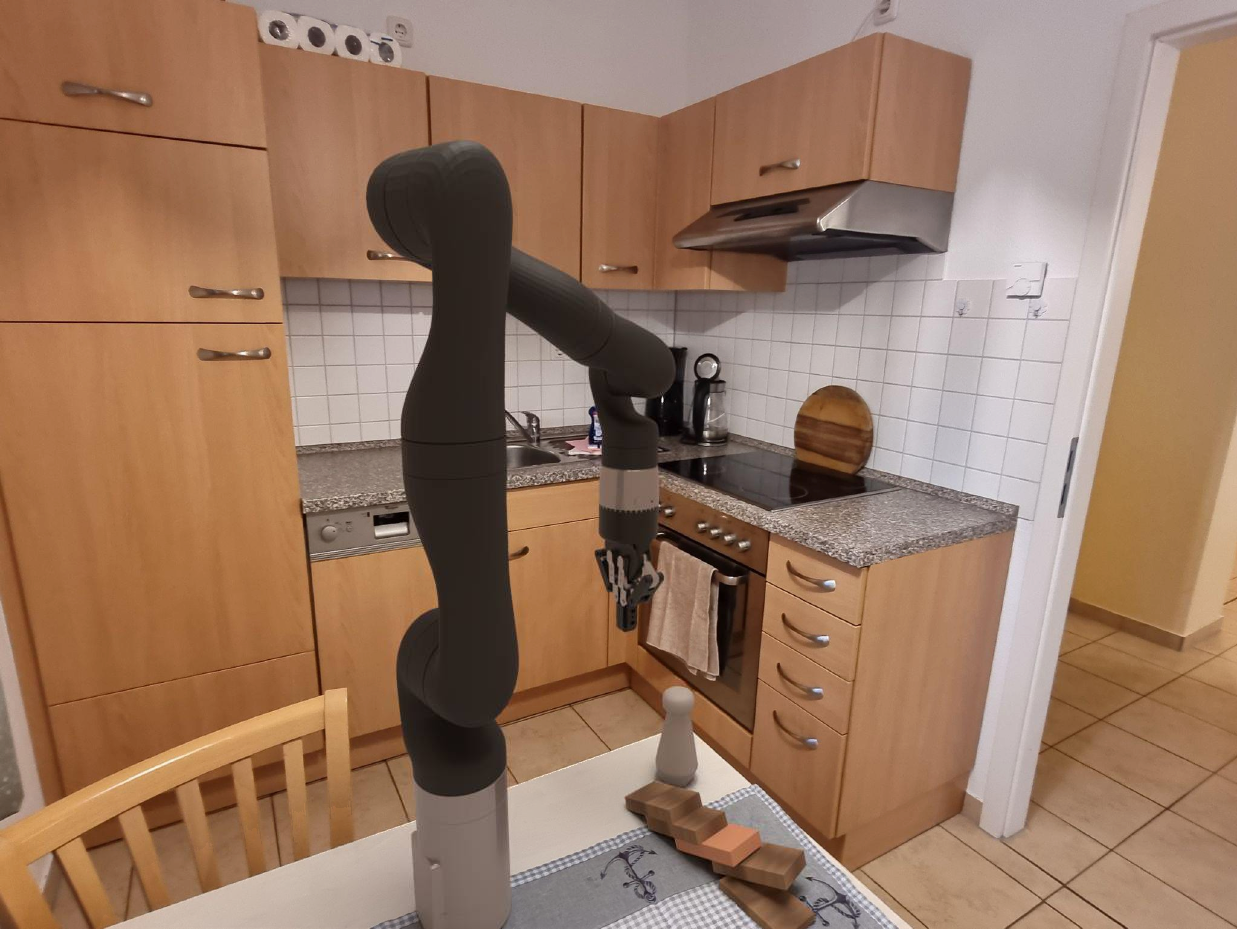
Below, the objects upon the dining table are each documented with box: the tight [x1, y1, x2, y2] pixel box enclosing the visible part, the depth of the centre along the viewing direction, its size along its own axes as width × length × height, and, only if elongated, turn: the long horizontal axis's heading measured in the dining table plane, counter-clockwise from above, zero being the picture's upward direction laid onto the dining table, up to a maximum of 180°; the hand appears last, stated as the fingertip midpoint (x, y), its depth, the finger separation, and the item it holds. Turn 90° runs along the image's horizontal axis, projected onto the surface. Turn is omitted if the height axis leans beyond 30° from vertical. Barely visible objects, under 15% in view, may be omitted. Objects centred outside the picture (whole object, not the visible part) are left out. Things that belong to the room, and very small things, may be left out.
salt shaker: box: [655, 685, 699, 788], centre depth 93 cm, size 6×6×13 cm
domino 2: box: [644, 805, 729, 845], centre depth 83 cm, size 5×2×9 cm
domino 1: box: [624, 780, 703, 824], centre depth 86 cm, size 5×2×9 cm
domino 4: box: [711, 841, 807, 891], centre depth 77 cm, size 5×2×9 cm
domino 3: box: [674, 822, 763, 867], centre depth 80 cm, size 5×2×9 cm
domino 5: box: [718, 875, 816, 929], centre depth 74 cm, size 5×2×9 cm
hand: (626, 628), depth 90 cm, fingers closed
